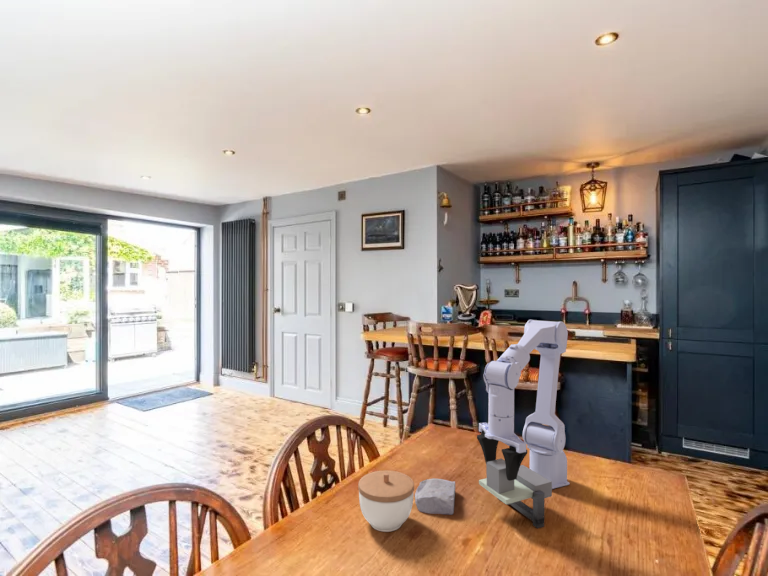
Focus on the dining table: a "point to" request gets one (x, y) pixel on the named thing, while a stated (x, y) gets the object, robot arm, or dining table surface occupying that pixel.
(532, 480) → the trapdoor
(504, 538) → the dining table surface
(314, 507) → the dining table surface
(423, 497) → the stone block
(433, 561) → the dining table surface
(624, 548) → the dining table surface
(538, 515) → the frame
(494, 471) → the grey rectangular block
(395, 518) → the lidded bowl
